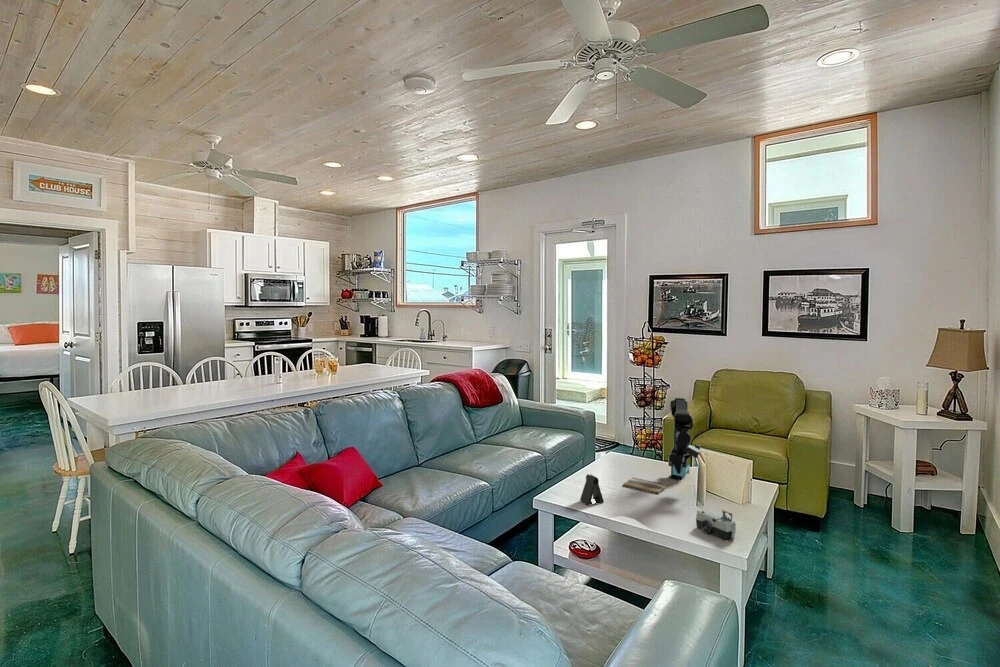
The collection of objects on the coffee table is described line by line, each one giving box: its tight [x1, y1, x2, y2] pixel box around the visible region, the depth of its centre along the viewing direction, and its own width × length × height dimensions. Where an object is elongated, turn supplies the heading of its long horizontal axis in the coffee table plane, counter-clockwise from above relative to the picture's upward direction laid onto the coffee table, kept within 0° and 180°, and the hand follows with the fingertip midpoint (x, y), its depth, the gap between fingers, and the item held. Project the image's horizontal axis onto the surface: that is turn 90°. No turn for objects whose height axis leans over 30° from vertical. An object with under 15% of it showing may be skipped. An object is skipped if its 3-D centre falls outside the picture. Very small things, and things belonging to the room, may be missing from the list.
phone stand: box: [579, 473, 605, 506], centre depth 232 cm, size 9×6×12 cm, turn 112°
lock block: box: [673, 464, 691, 478], centre depth 242 cm, size 6×6×4 cm
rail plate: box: [622, 477, 669, 495], centre depth 253 cm, size 13×18×2 cm
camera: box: [695, 508, 737, 541], centre depth 201 cm, size 15×8×10 cm, turn 29°
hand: (681, 471), depth 242 cm, fingers closed on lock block, 6 cm apart
